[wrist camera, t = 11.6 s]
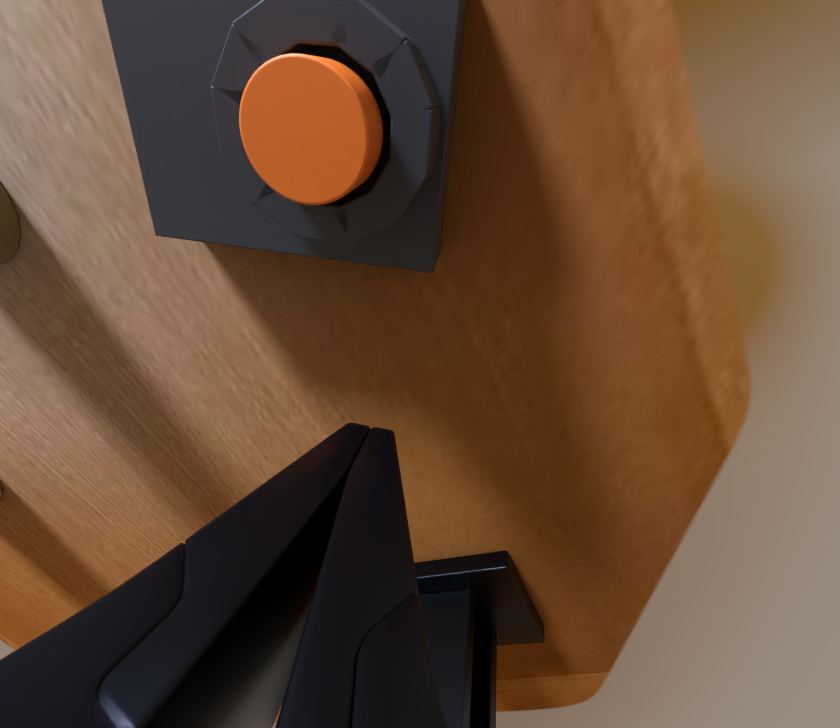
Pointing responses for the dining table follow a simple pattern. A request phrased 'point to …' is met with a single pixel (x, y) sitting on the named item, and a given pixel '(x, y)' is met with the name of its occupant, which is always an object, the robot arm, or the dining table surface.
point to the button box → (220, 130)
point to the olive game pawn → (8, 228)
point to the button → (310, 127)
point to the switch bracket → (473, 629)
